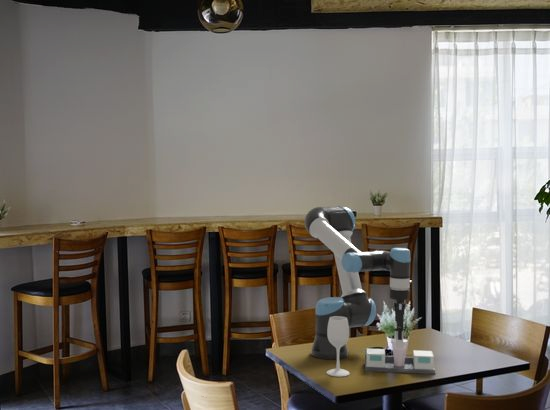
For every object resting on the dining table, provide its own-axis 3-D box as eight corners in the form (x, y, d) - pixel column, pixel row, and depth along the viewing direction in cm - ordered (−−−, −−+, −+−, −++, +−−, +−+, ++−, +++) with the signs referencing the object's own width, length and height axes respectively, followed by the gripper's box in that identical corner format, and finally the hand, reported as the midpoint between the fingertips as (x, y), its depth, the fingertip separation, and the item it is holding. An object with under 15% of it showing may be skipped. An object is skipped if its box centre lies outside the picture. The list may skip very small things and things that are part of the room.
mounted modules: (366, 366, 242) (366, 353, 242) (366, 360, 250) (366, 348, 250) (433, 369, 238) (433, 356, 238) (431, 363, 246) (431, 351, 246)
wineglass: (353, 375, 236) (353, 319, 235) (331, 377, 233) (331, 321, 233) (344, 369, 244) (344, 315, 243) (323, 371, 241) (323, 316, 241)
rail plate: (365, 370, 242) (365, 361, 242) (365, 363, 252) (365, 354, 252) (435, 374, 238) (435, 364, 238) (432, 366, 248) (432, 357, 248)
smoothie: (387, 365, 245) (387, 328, 244) (397, 361, 249) (397, 326, 249) (401, 368, 240) (401, 331, 240) (411, 365, 245) (411, 328, 244)
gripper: (411, 294, 231) (410, 352, 232) (408, 283, 256) (407, 335, 257) (390, 294, 232) (389, 351, 233) (389, 282, 257) (388, 334, 258)
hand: (398, 343), depth 245 cm, fingers open, 13 cm apart
